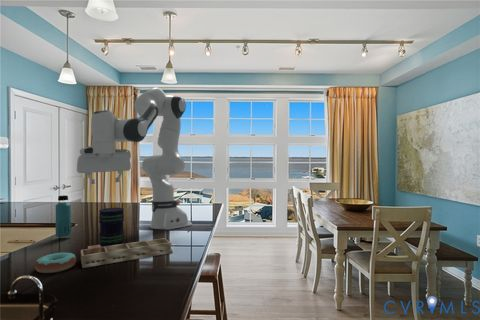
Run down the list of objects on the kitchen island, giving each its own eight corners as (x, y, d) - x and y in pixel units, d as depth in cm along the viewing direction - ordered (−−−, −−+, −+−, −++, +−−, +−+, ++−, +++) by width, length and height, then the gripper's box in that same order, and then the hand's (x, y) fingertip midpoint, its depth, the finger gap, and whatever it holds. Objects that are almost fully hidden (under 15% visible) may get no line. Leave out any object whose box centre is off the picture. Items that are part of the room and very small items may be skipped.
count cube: (99, 255, 108) (99, 244, 108) (101, 258, 105) (101, 247, 105) (87, 257, 106) (87, 246, 106) (88, 260, 103) (88, 249, 103)
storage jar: (129, 242, 130) (128, 208, 130) (112, 248, 121) (112, 211, 121) (111, 240, 133) (110, 207, 134) (93, 246, 124) (93, 210, 124)
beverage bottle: (64, 240, 133) (63, 196, 133) (51, 240, 134) (51, 196, 134) (74, 237, 139) (74, 194, 139) (62, 236, 141) (62, 194, 141)
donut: (71, 272, 95) (71, 260, 95) (28, 277, 91) (28, 264, 91) (80, 260, 106) (80, 249, 106) (42, 264, 103) (42, 252, 103)
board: (164, 246, 123) (164, 238, 123) (172, 252, 114) (172, 243, 114) (80, 259, 107) (80, 249, 107) (82, 268, 98) (82, 257, 98)
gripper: (128, 149, 129) (130, 180, 130) (75, 150, 118) (77, 184, 119) (131, 148, 124) (133, 181, 124) (76, 149, 113) (77, 185, 113)
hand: (105, 182), depth 121 cm, fingers open, 8 cm apart
